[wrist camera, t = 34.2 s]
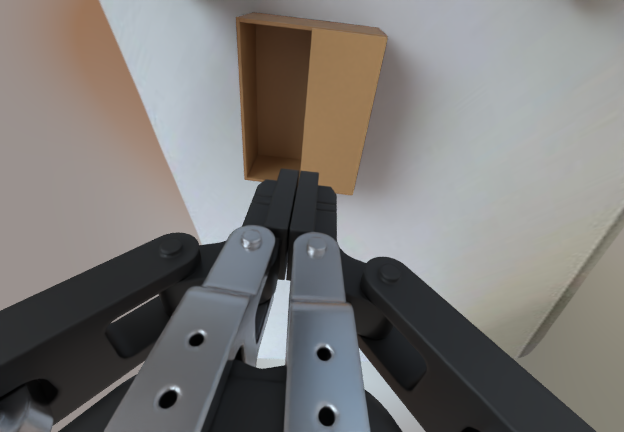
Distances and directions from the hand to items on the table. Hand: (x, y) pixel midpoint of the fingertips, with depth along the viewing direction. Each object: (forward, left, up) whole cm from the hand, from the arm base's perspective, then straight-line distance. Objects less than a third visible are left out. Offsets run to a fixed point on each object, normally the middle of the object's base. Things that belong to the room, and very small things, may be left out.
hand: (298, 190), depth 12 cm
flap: (+4, +2, -18) cm, 19 cm away
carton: (+4, -1, -25) cm, 25 cm away
